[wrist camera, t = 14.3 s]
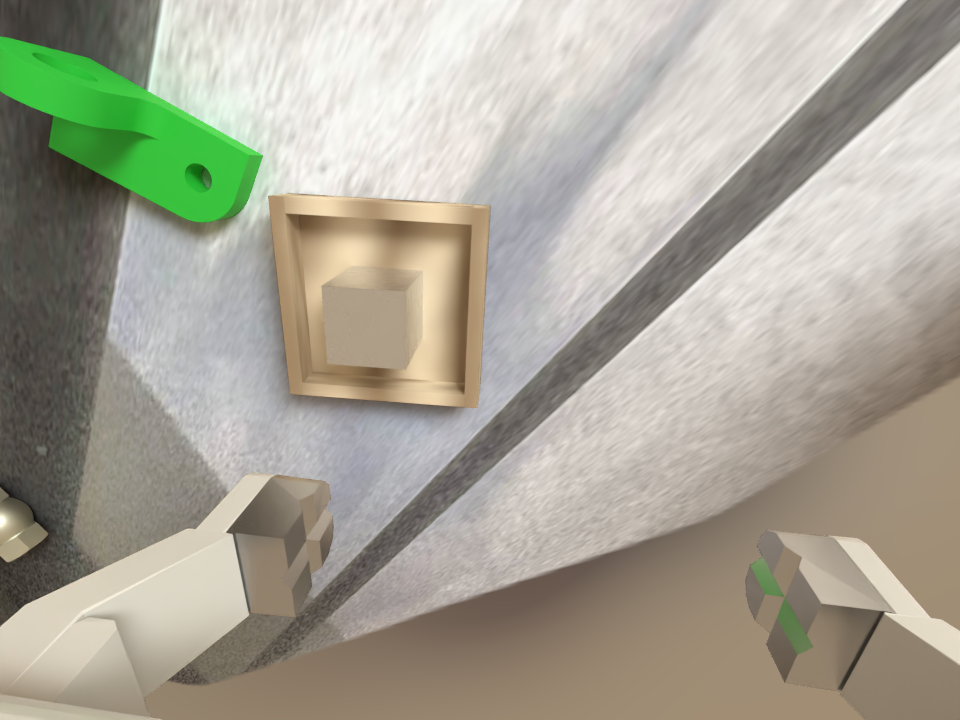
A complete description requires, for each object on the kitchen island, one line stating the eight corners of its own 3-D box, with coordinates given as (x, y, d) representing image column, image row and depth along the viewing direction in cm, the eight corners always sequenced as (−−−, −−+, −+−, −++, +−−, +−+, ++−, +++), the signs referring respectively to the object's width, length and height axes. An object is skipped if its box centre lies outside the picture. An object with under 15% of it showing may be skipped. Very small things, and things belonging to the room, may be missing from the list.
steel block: (423, 270, 33) (405, 291, 28) (422, 337, 35) (406, 369, 30) (352, 265, 34) (321, 285, 28) (356, 332, 36) (327, 363, 30)
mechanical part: (74, 147, 33) (-52, 143, 26) (90, 58, 31) (-43, 25, 23) (238, 234, 35) (163, 253, 27) (264, 155, 32) (191, 153, 25)
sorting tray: (490, 205, 32) (488, 209, 30) (480, 390, 38) (477, 408, 35) (288, 193, 33) (268, 195, 30) (306, 377, 38) (290, 393, 36)
